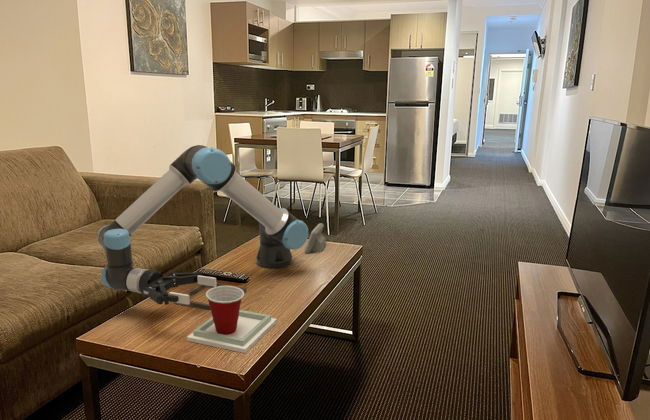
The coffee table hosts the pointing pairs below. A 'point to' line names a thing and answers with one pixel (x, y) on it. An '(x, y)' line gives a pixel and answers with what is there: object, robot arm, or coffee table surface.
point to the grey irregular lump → (316, 240)
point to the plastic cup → (225, 307)
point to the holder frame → (203, 305)
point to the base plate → (242, 339)
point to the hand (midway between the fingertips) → (203, 290)
